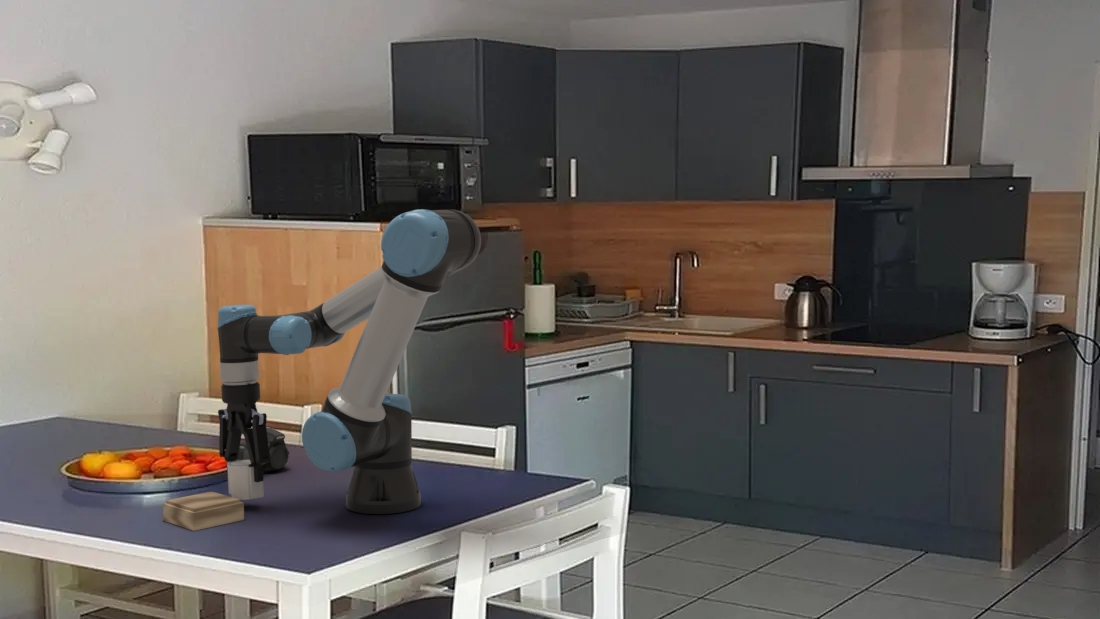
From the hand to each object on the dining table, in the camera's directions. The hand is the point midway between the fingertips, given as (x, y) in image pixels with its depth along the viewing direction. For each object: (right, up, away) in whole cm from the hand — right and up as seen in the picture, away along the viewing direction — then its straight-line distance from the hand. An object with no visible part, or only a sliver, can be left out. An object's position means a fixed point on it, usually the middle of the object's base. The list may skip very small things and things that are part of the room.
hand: (246, 494), depth 256 cm
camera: (-4, 0, +33) cm, 33 cm away
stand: (-6, -4, -9) cm, 12 cm away
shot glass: (0, -1, 0) cm, 1 cm away
